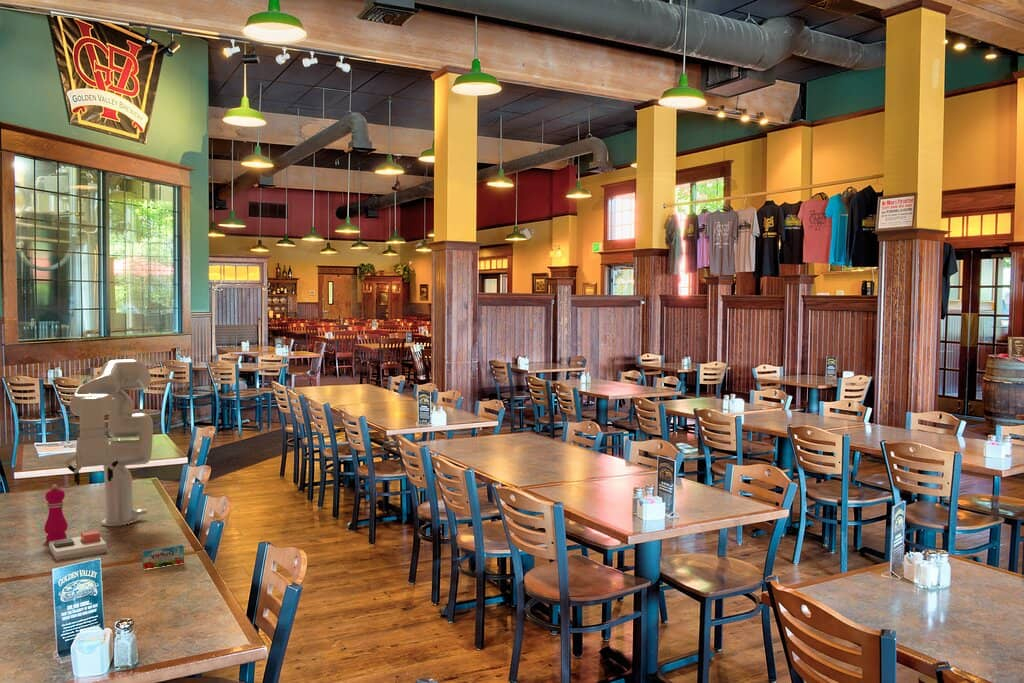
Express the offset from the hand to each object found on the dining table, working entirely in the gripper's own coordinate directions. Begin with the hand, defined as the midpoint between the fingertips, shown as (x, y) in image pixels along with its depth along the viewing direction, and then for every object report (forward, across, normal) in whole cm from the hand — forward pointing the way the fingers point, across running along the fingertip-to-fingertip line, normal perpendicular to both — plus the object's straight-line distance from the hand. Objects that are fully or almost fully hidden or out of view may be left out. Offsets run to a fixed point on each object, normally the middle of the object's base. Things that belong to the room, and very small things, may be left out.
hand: (93, 482), depth 276 cm
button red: (+20, +2, 0) cm, 20 cm away
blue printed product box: (+23, -15, +35) cm, 45 cm away
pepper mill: (+23, +10, -19) cm, 32 cm away
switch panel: (+23, +6, 0) cm, 23 cm away
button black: (+21, +10, +1) cm, 23 cm away
